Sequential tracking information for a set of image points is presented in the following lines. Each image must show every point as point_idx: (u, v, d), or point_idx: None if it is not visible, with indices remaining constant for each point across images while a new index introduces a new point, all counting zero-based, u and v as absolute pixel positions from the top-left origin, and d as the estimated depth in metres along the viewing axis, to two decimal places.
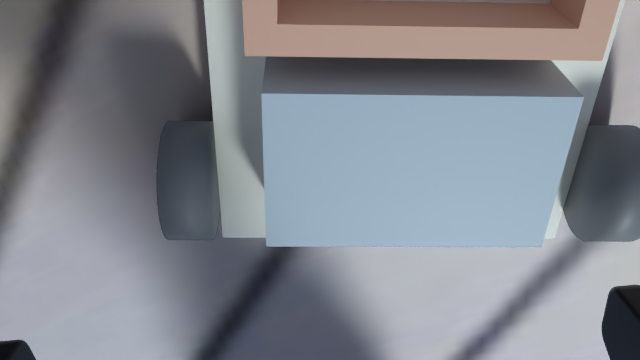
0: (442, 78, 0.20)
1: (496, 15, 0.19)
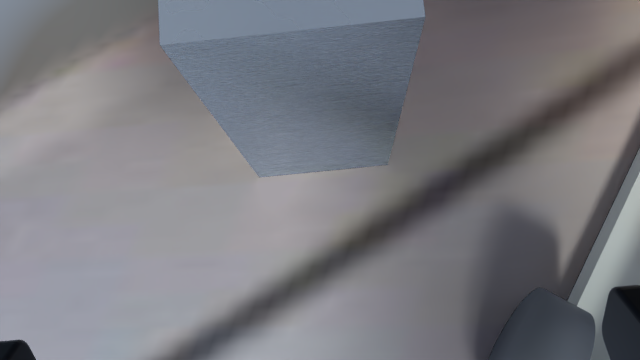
0: None
1: None
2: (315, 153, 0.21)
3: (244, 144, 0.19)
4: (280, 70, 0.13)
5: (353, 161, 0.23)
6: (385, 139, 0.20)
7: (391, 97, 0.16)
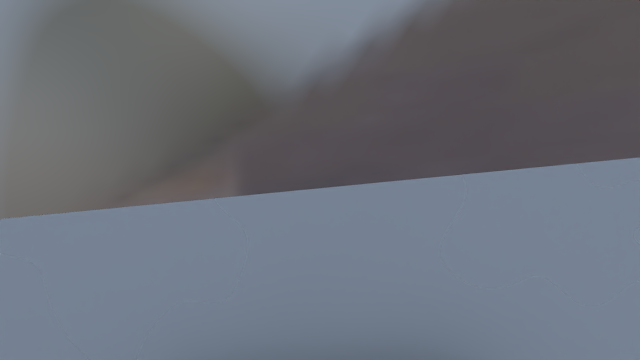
0: None
1: None
2: None
3: None
4: None
5: None
6: None
7: None
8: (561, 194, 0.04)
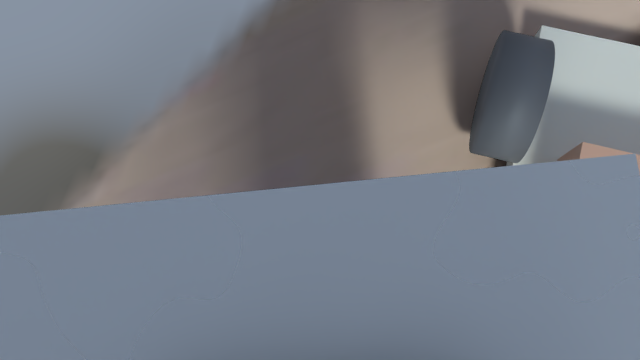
0: None
1: None
2: None
3: None
4: None
5: None
6: None
7: None
8: (554, 190, 0.04)
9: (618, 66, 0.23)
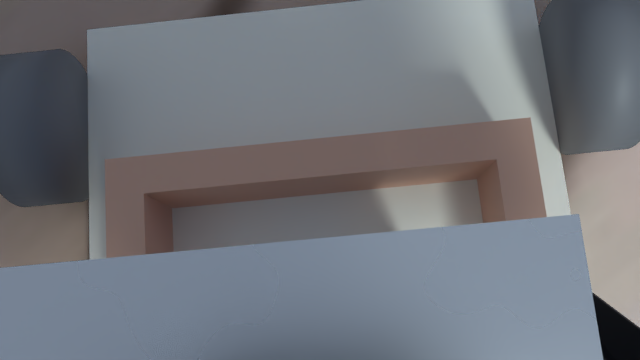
0: None
1: None
2: None
3: None
4: None
5: None
6: None
7: None
8: (516, 242, 0.05)
9: (181, 48, 0.19)
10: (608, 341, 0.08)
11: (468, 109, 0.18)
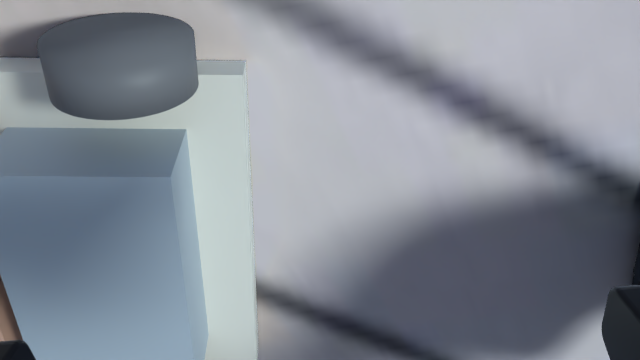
0: None
1: None
2: None
3: None
4: None
5: None
6: None
7: None
8: None
9: None
10: None
11: None
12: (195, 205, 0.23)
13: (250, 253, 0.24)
